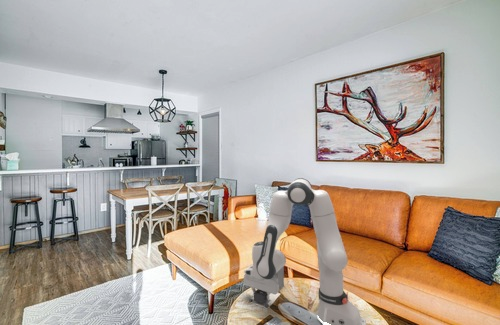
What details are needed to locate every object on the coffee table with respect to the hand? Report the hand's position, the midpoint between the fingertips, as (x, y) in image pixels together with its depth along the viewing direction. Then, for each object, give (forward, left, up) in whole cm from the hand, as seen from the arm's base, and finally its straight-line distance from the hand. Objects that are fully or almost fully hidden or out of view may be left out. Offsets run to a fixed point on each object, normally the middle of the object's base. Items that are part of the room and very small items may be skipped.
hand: (261, 296), depth 137 cm
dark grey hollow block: (0, 0, -1) cm, 1 cm away
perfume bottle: (0, -17, -4) cm, 18 cm away
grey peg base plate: (0, -4, -4) cm, 6 cm away
